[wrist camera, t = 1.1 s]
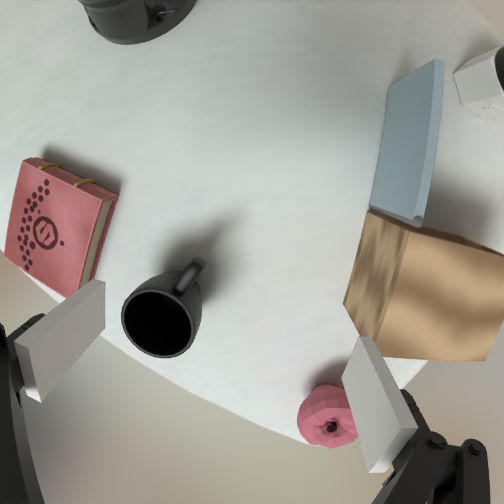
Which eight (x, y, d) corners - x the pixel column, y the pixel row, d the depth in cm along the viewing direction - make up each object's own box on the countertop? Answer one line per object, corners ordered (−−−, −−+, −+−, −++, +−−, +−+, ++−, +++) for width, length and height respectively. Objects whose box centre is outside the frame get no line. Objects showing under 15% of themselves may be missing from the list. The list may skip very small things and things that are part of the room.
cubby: (366, 211, 36) (409, 231, 24) (465, 238, 36) (522, 263, 24) (342, 303, 39) (370, 355, 27) (440, 317, 39) (484, 361, 27)
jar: (448, 99, 32) (502, 83, 20) (455, 52, 30) (504, 26, 18) (494, 128, 32) (550, 124, 21) (499, 82, 30) (551, 69, 18)
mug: (241, 265, 39) (234, 294, 29) (188, 331, 41) (169, 371, 32) (187, 223, 38) (163, 241, 28) (139, 295, 40) (108, 327, 31)
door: (368, 208, 36) (412, 226, 24) (388, 87, 32) (436, 58, 20) (375, 209, 36) (421, 229, 24) (395, 89, 32) (444, 62, 20)
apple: (285, 404, 44) (287, 452, 34) (311, 362, 42) (320, 409, 32) (338, 417, 44) (349, 463, 35) (367, 378, 42) (385, 423, 33)
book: (122, 189, 37) (104, 193, 33) (92, 290, 41) (74, 303, 36) (45, 154, 36) (23, 154, 32) (23, 248, 40) (3, 256, 35)
